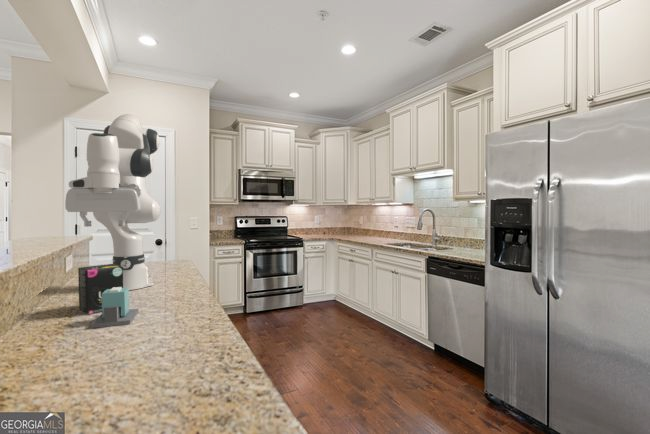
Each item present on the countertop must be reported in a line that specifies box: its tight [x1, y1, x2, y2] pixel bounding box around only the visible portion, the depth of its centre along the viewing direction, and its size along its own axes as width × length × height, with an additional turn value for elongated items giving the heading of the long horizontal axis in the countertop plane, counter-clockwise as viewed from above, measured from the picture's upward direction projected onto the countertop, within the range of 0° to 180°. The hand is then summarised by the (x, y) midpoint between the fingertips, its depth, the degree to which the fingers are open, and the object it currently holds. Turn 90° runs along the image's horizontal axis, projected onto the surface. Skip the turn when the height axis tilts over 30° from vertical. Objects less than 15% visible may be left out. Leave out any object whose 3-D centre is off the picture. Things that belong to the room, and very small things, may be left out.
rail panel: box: [90, 306, 139, 329], centre depth 103 cm, size 12×10×6 cm
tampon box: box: [77, 263, 123, 315], centre depth 115 cm, size 11×9×15 cm
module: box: [101, 287, 130, 318], centre depth 103 cm, size 6×6×8 cm
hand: (105, 226), depth 107 cm, fingers open, 8 cm apart
